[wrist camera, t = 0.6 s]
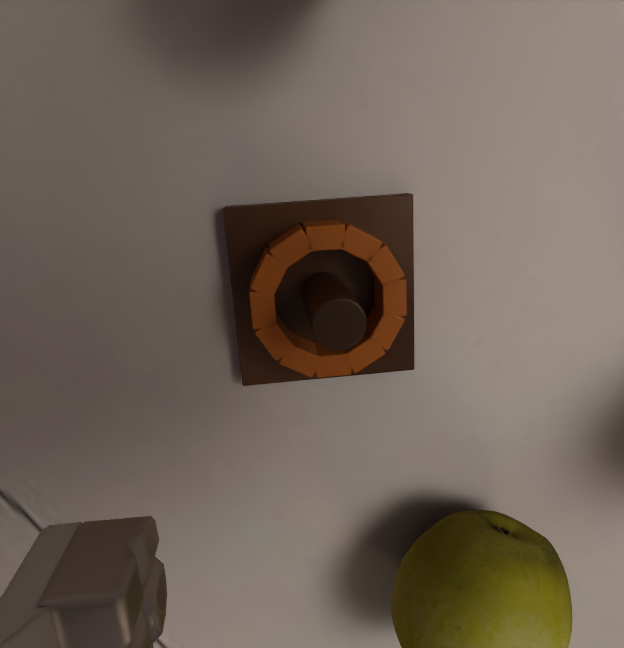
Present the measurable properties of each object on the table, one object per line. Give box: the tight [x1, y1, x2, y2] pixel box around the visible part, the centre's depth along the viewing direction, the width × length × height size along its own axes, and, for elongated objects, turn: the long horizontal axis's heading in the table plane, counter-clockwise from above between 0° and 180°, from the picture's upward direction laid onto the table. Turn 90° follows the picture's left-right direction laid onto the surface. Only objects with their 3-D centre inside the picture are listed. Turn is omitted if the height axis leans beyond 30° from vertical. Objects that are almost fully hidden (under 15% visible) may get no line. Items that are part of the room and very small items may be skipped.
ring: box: [249, 219, 407, 378], centre depth 22 cm, size 6×6×2 cm
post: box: [223, 193, 414, 386], centre depth 21 cm, size 8×8×6 cm
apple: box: [391, 510, 572, 648], centre depth 25 cm, size 8×9×8 cm
